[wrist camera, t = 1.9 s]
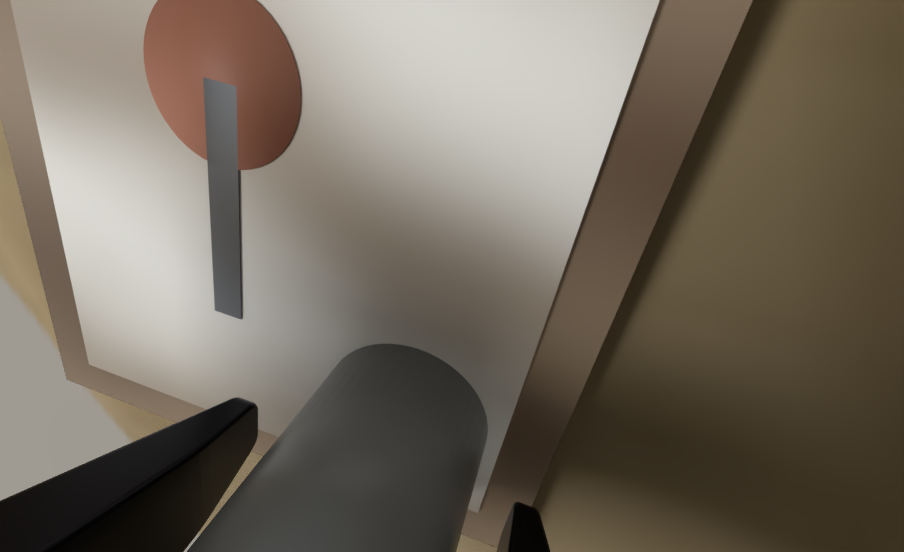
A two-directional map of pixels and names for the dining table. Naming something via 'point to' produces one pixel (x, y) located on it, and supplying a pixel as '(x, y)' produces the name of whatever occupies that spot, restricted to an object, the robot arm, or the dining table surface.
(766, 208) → the dining table surface
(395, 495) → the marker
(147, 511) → the robot arm
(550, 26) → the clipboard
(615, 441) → the dining table surface
